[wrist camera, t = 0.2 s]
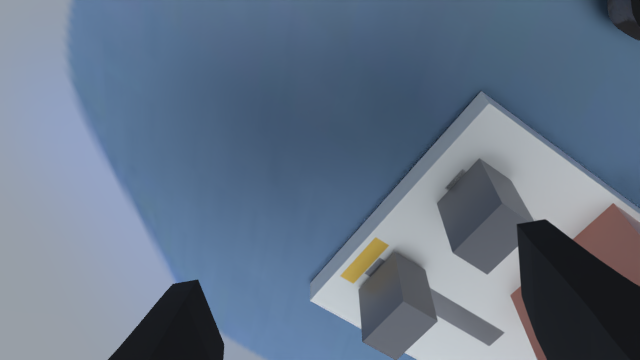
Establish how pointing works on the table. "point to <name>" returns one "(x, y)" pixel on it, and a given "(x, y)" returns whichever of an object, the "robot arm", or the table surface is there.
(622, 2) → the black brush
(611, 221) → the reddish pink block
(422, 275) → the handle
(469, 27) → the table surface
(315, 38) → the table surface
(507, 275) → the breaker panel
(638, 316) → the robot arm
